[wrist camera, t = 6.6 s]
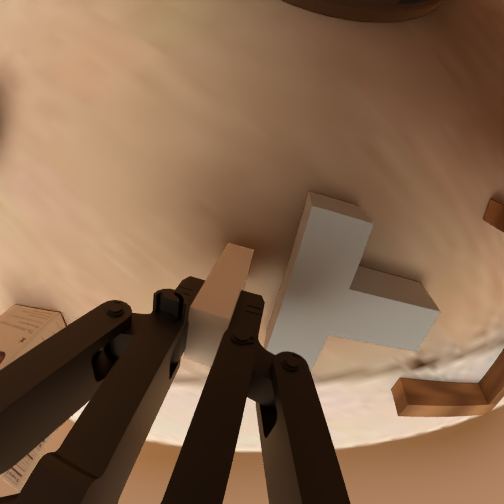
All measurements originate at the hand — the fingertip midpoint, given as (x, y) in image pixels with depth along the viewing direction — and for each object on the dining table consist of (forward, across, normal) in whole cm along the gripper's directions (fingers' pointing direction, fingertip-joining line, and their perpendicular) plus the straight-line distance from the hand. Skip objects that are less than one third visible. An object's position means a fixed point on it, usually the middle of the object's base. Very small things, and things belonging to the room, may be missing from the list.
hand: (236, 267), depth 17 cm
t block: (+1, +7, 0) cm, 8 cm away
